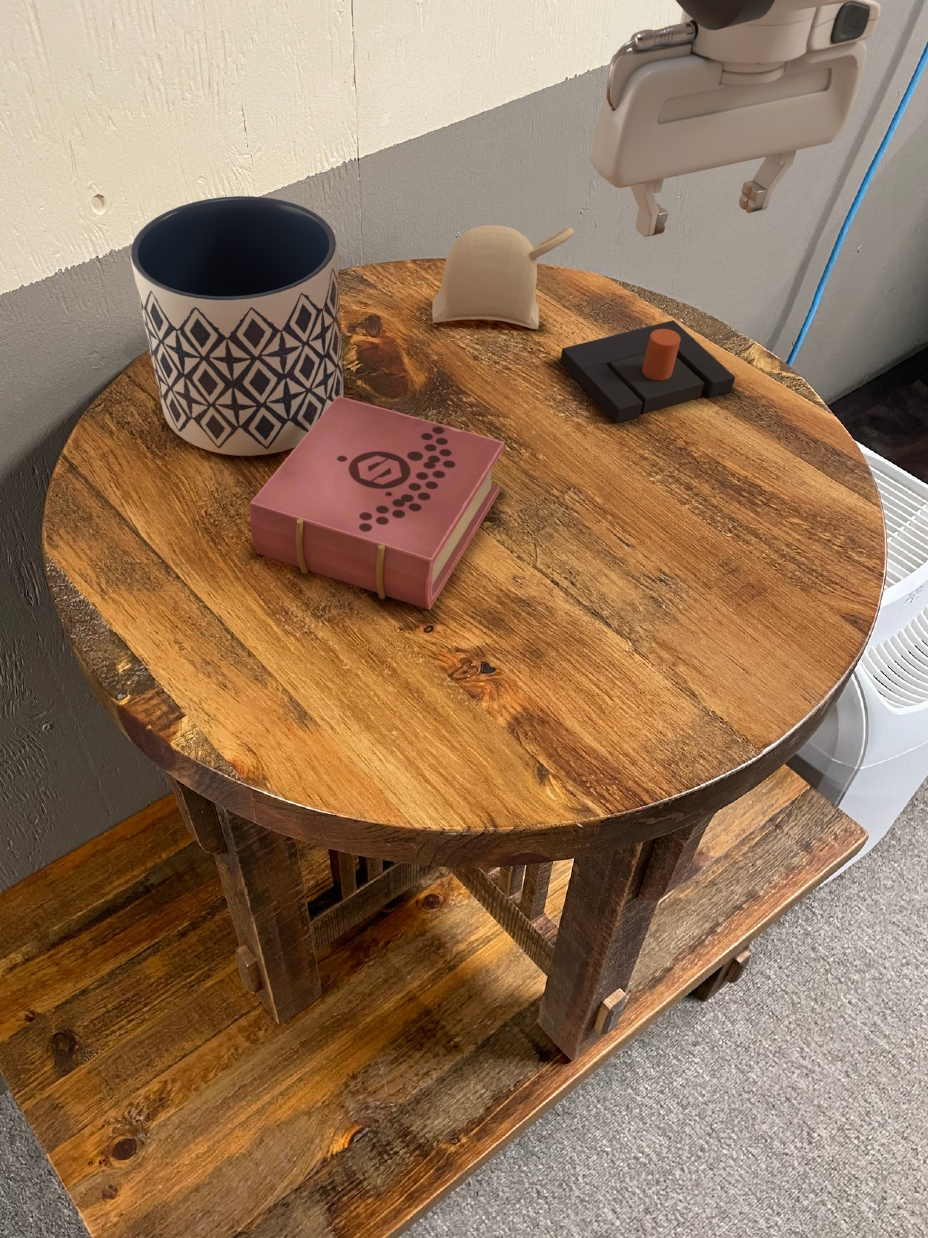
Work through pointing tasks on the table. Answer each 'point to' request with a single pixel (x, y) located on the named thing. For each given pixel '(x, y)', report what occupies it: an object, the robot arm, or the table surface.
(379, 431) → the book
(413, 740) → the table surface
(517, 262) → the decorative ornament
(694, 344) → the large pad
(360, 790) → the table surface
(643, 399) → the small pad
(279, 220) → the planter
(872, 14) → the robot arm
